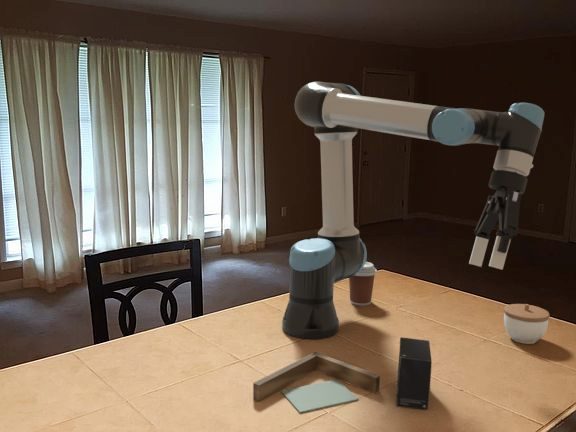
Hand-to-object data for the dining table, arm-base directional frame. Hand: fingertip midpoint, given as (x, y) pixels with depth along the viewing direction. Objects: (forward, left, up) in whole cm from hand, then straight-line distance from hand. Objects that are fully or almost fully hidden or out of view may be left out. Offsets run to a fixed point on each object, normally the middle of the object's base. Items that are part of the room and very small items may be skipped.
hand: (484, 266), depth 121 cm
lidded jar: (+2, +25, -24) cm, 35 cm away
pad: (-19, -33, -24) cm, 45 cm away
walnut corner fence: (-19, -34, -24) cm, 46 cm away
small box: (-5, -21, -24) cm, 32 cm away
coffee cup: (-45, +20, -24) cm, 55 cm away
